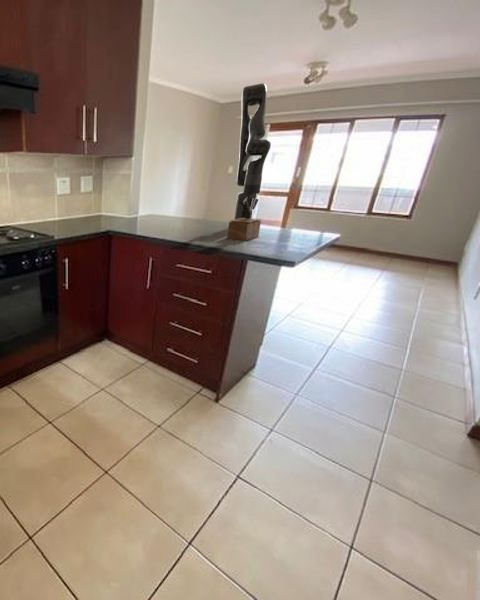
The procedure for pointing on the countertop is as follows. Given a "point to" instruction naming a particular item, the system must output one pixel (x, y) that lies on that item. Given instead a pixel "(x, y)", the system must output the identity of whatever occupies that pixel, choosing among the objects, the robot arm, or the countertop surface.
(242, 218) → the flap
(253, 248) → the countertop surface
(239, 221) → the carton
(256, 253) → the countertop surface
